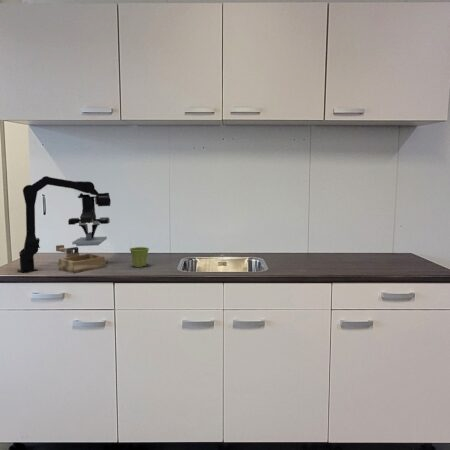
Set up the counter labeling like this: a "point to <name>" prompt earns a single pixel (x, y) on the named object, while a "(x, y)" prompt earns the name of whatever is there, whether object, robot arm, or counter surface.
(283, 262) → the counter surface
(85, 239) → the lid
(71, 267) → the toolbox
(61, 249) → the beige long block
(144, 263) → the plant pot
